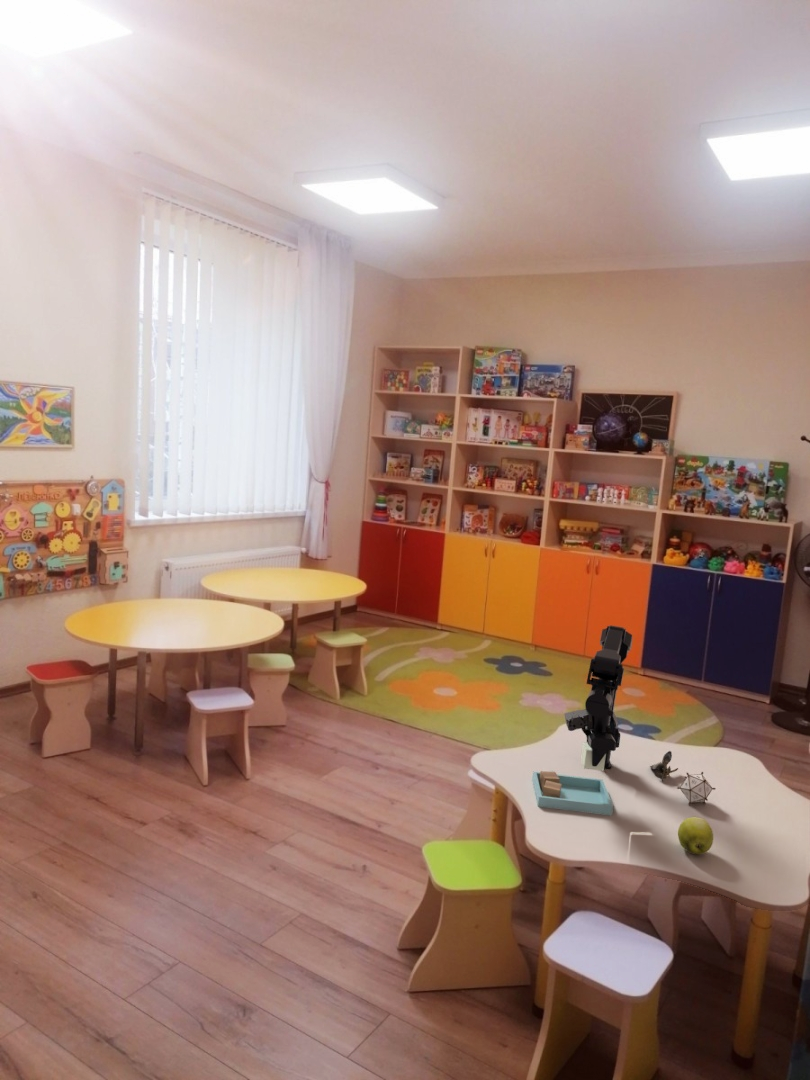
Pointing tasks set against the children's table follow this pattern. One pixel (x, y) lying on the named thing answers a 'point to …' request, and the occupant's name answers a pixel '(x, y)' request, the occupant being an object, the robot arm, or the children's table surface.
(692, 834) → the apple
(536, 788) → the tray
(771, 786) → the children's table surface
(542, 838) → the children's table surface
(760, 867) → the children's table surface
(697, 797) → the game die
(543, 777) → the walnut block
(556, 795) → the walnut block
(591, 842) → the children's table surface
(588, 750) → the sage block
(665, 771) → the eagle figurine
